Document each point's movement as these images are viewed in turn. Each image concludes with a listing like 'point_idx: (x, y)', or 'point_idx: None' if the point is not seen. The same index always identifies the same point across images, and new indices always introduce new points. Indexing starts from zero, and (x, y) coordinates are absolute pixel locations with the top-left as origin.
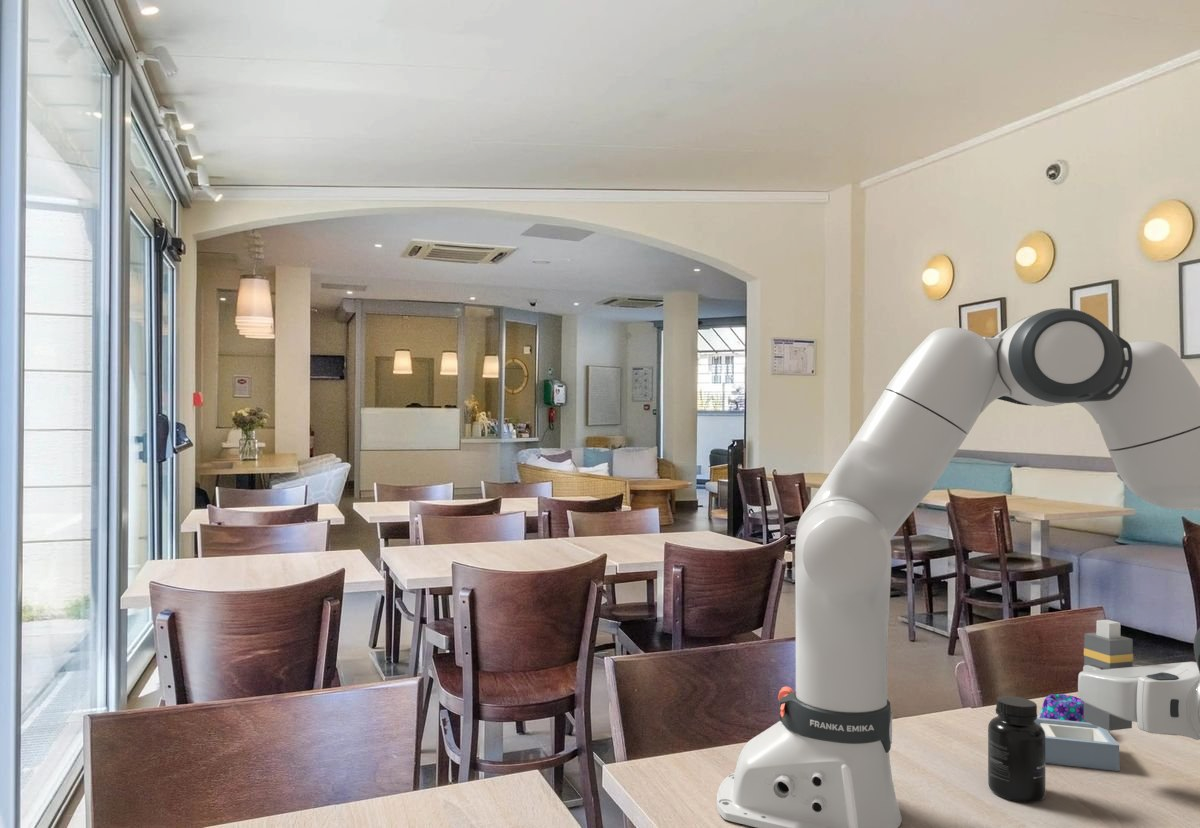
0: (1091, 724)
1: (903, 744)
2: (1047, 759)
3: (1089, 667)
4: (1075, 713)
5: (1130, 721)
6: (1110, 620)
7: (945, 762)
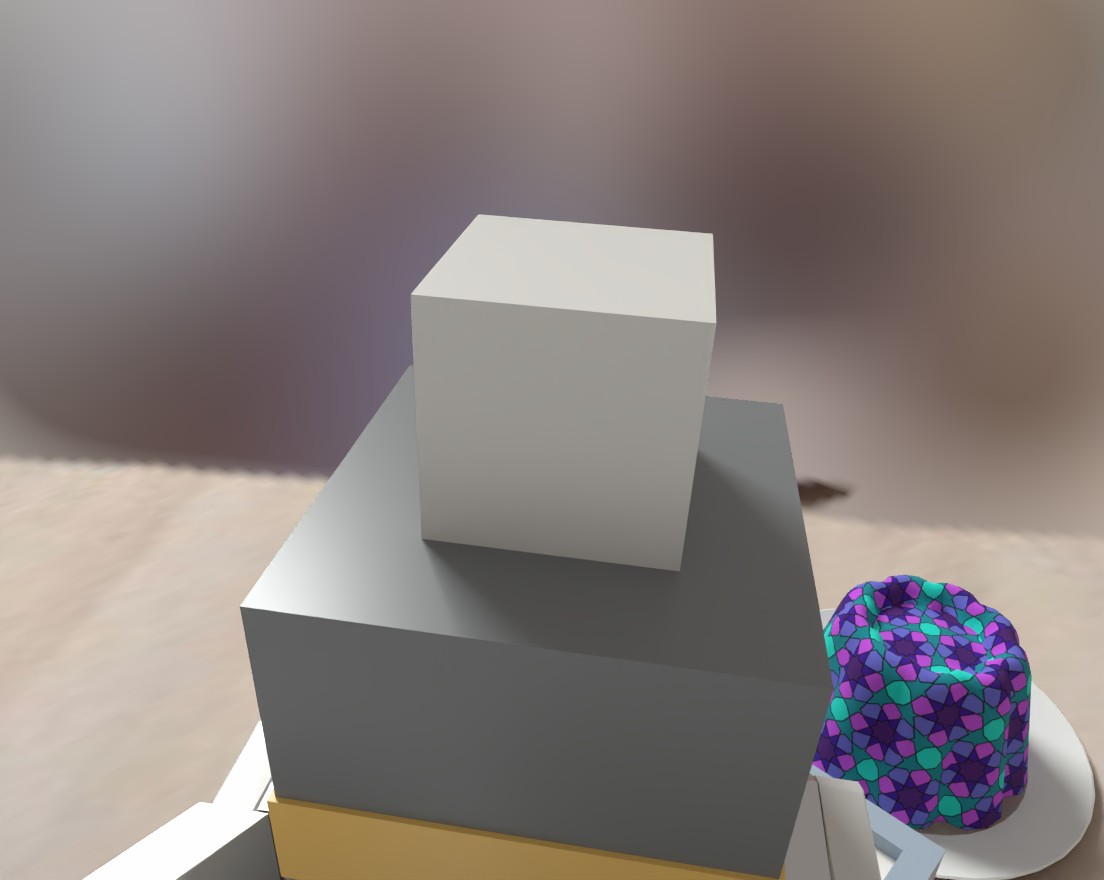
0: (874, 832)
1: (179, 588)
2: None
3: (244, 752)
4: (906, 714)
5: None
6: (702, 251)
7: (100, 732)
